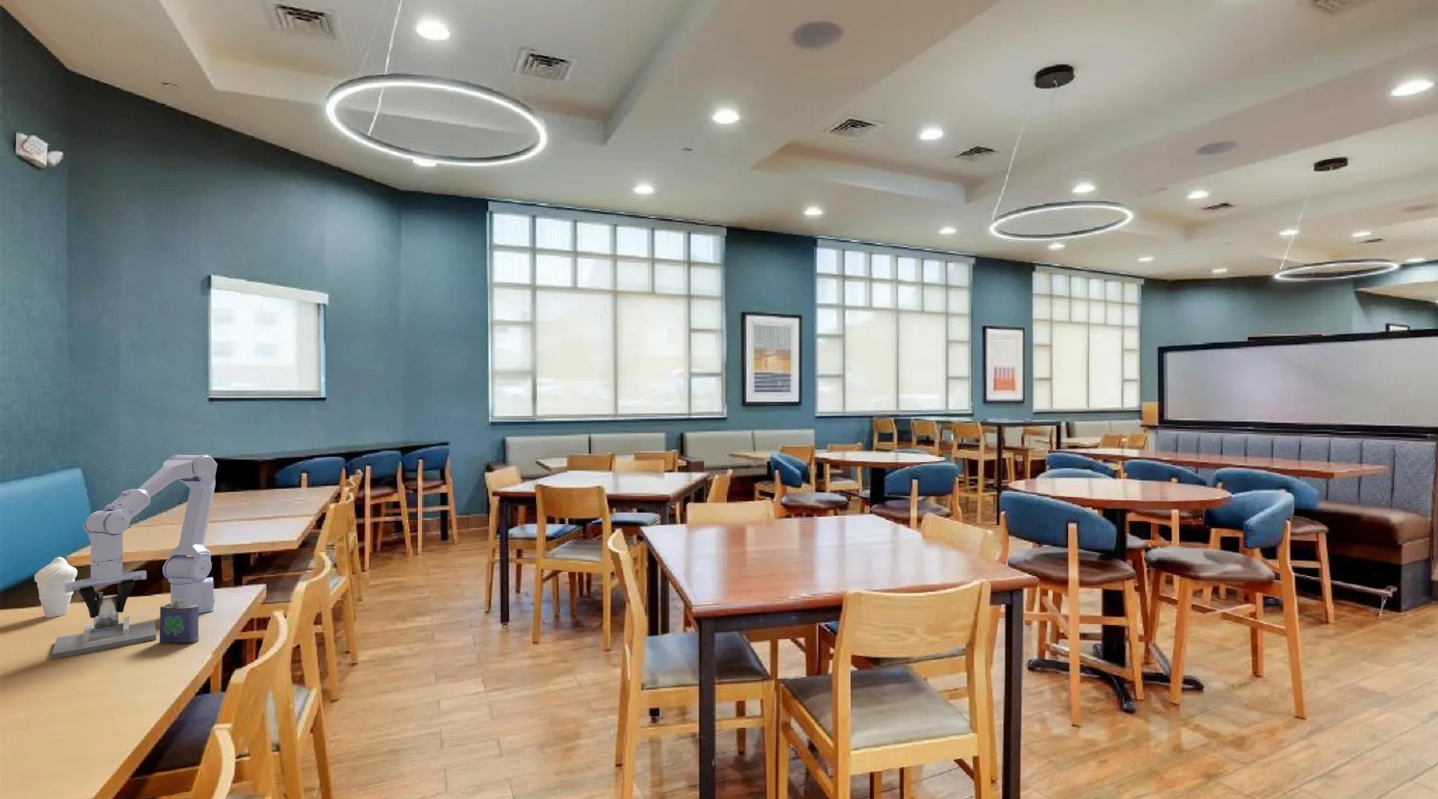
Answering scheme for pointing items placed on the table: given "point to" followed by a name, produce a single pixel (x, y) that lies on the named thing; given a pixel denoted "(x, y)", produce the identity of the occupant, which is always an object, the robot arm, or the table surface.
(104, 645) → the grey framed base plate
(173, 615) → the flask
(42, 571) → the soft serve ice cream cone
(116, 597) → the spout can
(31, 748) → the table surface
